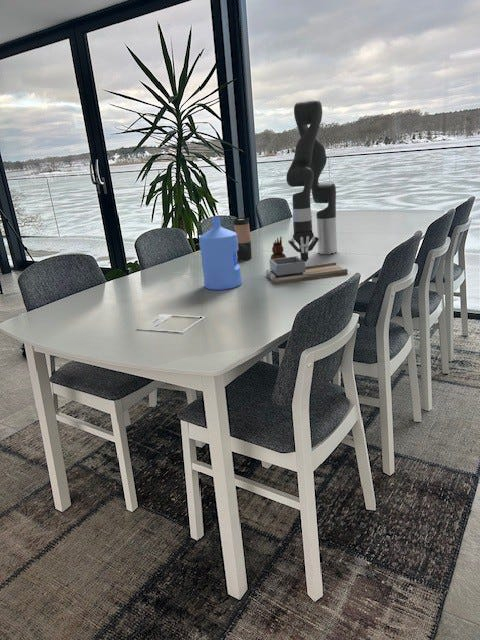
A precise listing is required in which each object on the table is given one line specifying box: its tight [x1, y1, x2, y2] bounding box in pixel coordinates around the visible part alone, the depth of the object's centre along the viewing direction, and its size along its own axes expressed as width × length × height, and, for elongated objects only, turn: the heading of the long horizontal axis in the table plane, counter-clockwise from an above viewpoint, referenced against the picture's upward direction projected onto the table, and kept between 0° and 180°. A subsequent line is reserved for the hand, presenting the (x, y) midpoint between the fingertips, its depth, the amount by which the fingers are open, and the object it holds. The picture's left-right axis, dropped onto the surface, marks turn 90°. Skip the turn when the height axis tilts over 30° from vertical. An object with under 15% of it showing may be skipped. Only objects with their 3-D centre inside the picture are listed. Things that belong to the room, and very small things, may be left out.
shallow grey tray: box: [269, 255, 306, 278], centre depth 207 cm, size 12×12×6 cm
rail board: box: [266, 261, 349, 285], centre depth 209 cm, size 14×31×3 cm, turn 100°
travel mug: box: [233, 217, 252, 261], centre depth 248 cm, size 8×8×20 cm
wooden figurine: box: [270, 236, 287, 259], centre depth 220 cm, size 7×6×15 cm
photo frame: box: [147, 313, 206, 334], centre depth 167 cm, size 15×1×18 cm
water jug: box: [198, 216, 243, 291], centre depth 203 cm, size 16×16×28 cm
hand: (304, 261), depth 207 cm, fingers closed
